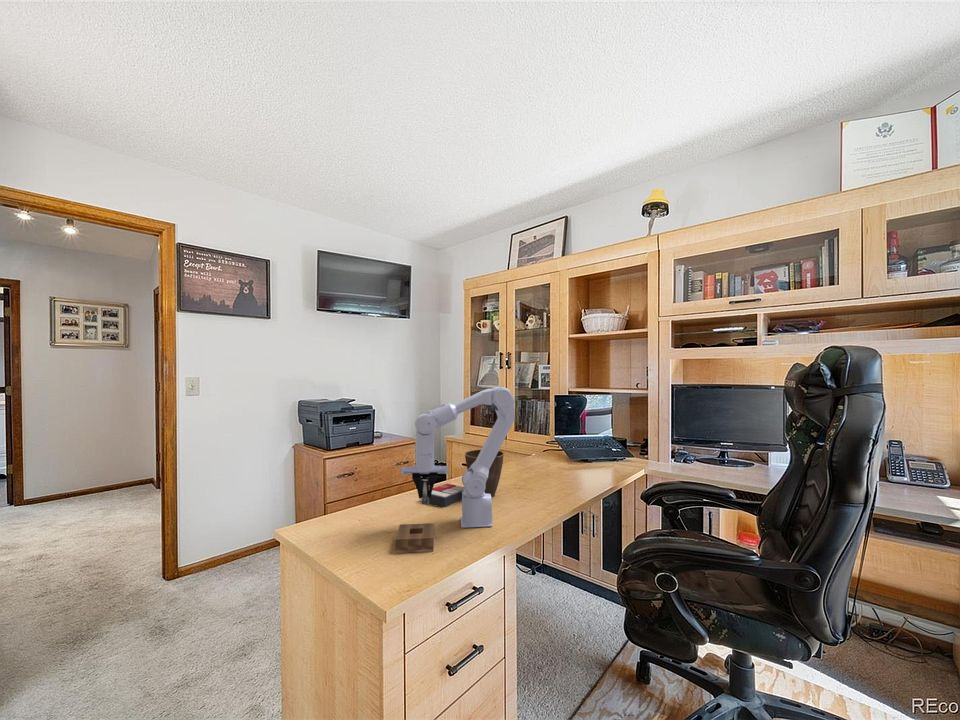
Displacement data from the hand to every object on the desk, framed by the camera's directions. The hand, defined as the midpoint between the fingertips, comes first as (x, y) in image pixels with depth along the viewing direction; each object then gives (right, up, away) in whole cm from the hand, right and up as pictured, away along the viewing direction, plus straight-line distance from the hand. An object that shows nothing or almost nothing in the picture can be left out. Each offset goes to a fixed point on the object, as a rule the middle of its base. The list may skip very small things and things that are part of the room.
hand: (425, 497), depth 122 cm
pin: (0, -2, 0) cm, 2 cm away
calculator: (+4, -10, +25) cm, 27 cm away
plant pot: (+19, -10, +29) cm, 36 cm away
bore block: (-1, -9, -12) cm, 15 cm away
